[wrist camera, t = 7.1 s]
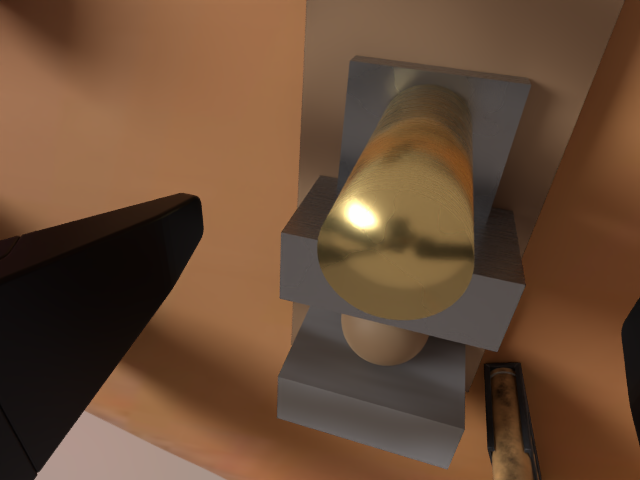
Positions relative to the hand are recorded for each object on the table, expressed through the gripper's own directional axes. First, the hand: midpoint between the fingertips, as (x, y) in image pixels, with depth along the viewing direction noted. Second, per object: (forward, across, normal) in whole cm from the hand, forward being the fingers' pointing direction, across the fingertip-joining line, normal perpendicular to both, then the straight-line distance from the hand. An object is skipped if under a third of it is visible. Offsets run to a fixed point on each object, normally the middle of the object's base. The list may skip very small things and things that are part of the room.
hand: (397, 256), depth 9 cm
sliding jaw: (+9, 0, +2) cm, 10 cm away
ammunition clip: (+11, -8, +18) cm, 23 cm away
